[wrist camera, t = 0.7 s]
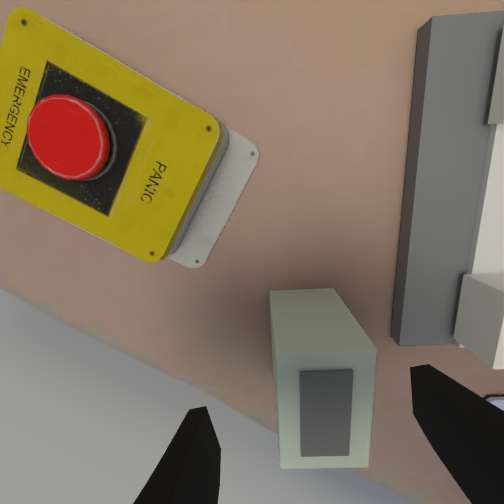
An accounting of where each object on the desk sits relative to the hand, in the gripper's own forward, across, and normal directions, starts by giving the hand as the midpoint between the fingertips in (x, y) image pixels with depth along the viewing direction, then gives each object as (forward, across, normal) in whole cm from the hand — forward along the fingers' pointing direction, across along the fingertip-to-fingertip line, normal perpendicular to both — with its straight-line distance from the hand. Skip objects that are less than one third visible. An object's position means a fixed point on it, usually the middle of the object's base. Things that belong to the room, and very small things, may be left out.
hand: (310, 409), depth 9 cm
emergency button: (+11, +8, -11) cm, 17 cm away
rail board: (+9, -14, -3) cm, 17 cm away
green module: (+10, -1, +4) cm, 10 cm away
